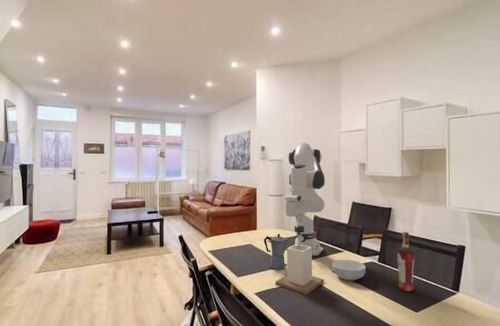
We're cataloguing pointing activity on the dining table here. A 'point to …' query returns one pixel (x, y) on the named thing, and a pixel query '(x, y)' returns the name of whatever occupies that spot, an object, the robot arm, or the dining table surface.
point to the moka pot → (277, 251)
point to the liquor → (405, 265)
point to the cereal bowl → (349, 269)
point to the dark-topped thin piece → (299, 234)
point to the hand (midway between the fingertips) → (299, 222)
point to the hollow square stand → (299, 271)
